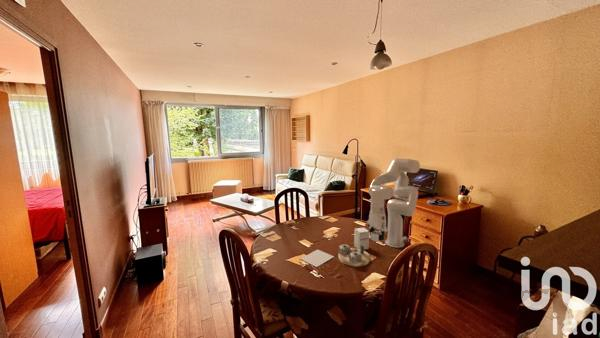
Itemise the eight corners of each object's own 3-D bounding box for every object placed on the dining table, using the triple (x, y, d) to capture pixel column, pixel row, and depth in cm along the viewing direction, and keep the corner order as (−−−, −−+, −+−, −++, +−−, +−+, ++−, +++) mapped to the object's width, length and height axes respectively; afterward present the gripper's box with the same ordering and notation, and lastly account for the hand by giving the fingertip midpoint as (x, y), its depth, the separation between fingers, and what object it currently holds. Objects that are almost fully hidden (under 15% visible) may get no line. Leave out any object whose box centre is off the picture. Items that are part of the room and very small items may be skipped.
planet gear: (376, 235, 147) (376, 229, 146) (385, 240, 141) (385, 233, 140) (367, 238, 144) (368, 232, 143) (376, 242, 138) (376, 236, 137)
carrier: (356, 248, 160) (356, 238, 159) (376, 261, 143) (376, 250, 142) (332, 254, 152) (332, 244, 151) (350, 269, 135) (350, 258, 134)
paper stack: (346, 263, 143) (346, 262, 142) (319, 281, 125) (319, 280, 125) (317, 250, 159) (317, 249, 159) (289, 264, 142) (289, 263, 142)
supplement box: (359, 250, 157) (359, 232, 155) (353, 245, 164) (354, 228, 162) (369, 249, 159) (369, 231, 157) (363, 244, 166) (363, 227, 164)
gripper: (393, 212, 134) (392, 242, 136) (371, 204, 149) (371, 231, 152) (383, 214, 130) (382, 245, 133) (362, 206, 146) (361, 233, 148)
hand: (376, 237), depth 142 cm, fingers closed on planet gear, 7 cm apart
